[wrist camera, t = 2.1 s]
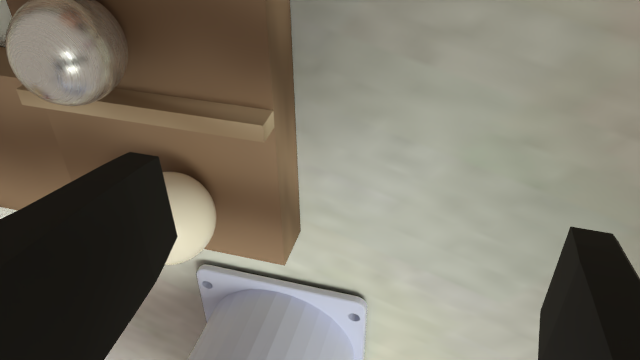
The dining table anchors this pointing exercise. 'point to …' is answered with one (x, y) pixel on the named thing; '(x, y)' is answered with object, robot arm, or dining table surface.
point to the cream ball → (189, 216)
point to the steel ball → (66, 50)
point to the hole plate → (177, 117)
